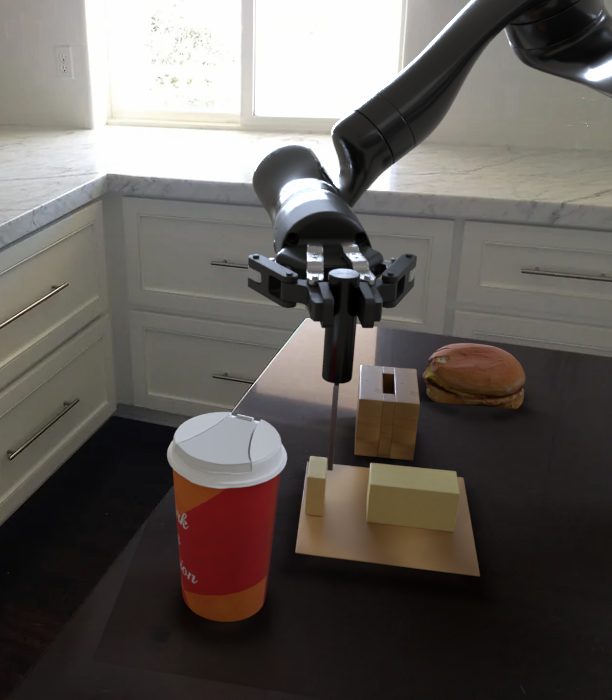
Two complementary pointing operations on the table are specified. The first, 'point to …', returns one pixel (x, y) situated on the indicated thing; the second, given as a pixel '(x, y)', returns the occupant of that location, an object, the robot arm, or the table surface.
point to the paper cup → (225, 511)
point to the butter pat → (316, 486)
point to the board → (381, 530)
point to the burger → (475, 376)
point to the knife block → (387, 412)
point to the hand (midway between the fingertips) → (349, 315)
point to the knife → (340, 339)
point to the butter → (412, 497)
